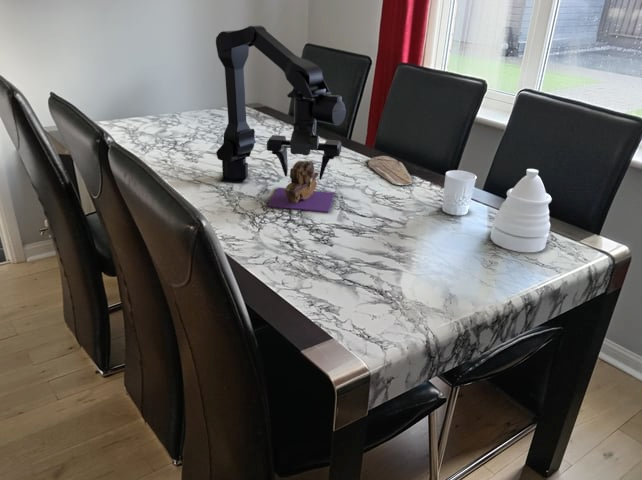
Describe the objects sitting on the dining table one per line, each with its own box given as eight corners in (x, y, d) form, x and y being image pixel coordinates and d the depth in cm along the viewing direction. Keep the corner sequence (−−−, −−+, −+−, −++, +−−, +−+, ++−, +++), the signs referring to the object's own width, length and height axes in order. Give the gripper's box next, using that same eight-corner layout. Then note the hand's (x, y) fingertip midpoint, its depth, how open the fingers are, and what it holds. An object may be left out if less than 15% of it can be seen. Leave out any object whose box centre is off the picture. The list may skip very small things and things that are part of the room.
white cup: (471, 208, 157) (477, 172, 152) (467, 218, 150) (474, 181, 145) (442, 203, 159) (447, 168, 154) (437, 213, 152) (443, 177, 147)
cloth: (267, 206, 150) (267, 205, 150) (278, 189, 162) (278, 187, 162) (328, 212, 149) (328, 211, 149) (334, 194, 161) (334, 192, 161)
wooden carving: (300, 210, 148) (301, 172, 143) (283, 207, 149) (284, 170, 144) (320, 190, 162) (322, 155, 157) (305, 188, 163) (306, 153, 158)
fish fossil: (424, 184, 172) (424, 180, 172) (393, 188, 170) (393, 185, 169) (389, 157, 193) (389, 153, 192) (360, 160, 190) (361, 157, 190)
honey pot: (538, 257, 131) (557, 181, 123) (483, 242, 137) (498, 169, 128) (550, 238, 141) (570, 167, 132) (499, 225, 147) (514, 156, 138)
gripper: (261, 122, 139) (261, 184, 146) (338, 128, 137) (334, 191, 145) (271, 112, 148) (271, 171, 156) (343, 118, 147) (339, 177, 154)
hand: (303, 177), depth 152 cm, fingers open, 9 cm apart
